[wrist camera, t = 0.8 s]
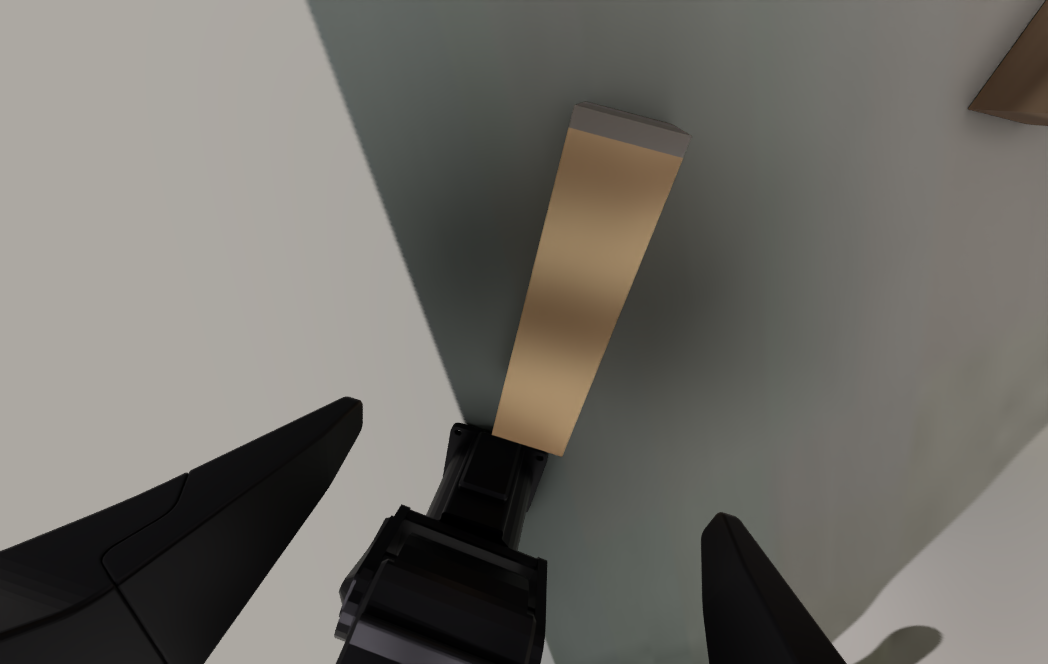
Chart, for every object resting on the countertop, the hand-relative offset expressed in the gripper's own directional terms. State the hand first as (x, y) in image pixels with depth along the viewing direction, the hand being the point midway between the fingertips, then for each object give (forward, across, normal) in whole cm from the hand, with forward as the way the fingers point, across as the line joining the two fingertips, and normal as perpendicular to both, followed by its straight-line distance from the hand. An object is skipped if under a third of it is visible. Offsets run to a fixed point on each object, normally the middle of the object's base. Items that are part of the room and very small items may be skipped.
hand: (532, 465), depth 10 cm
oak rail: (+12, 0, 0) cm, 12 cm away
